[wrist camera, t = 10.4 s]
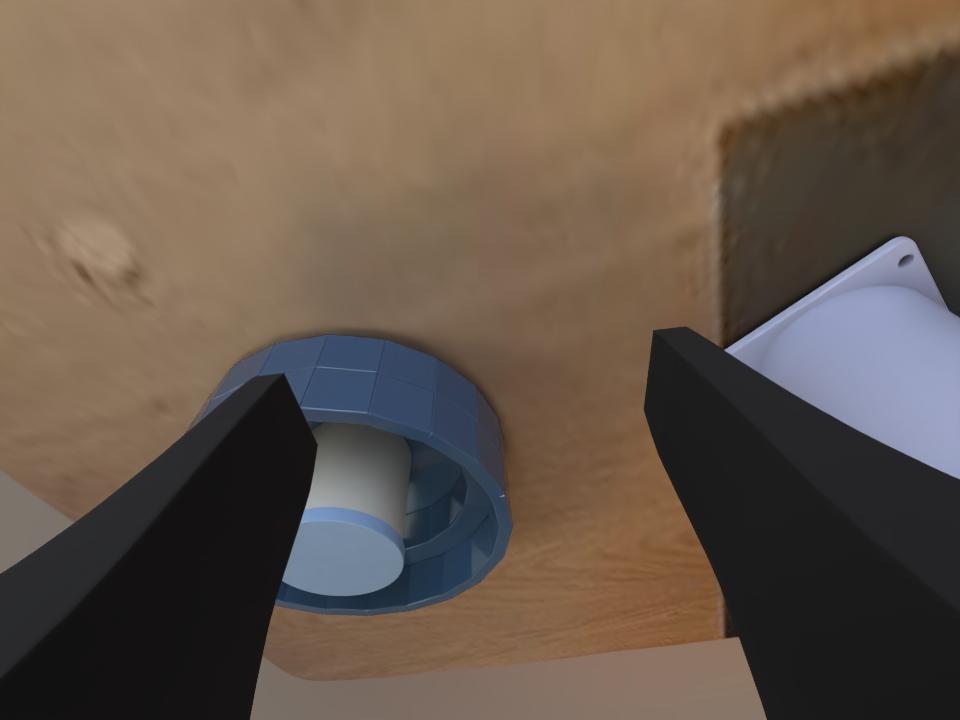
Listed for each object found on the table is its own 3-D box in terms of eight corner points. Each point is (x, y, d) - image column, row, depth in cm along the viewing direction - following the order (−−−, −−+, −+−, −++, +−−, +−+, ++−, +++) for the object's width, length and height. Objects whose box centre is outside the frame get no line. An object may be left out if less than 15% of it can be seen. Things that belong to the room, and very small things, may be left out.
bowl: (560, 438, 24) (581, 525, 20) (388, 556, 30) (377, 641, 26) (316, 261, 18) (274, 335, 14) (160, 453, 24) (99, 545, 20)
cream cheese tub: (437, 451, 23) (432, 557, 19) (371, 503, 26) (352, 609, 21) (343, 395, 21) (311, 501, 16) (279, 458, 23) (235, 566, 19)
